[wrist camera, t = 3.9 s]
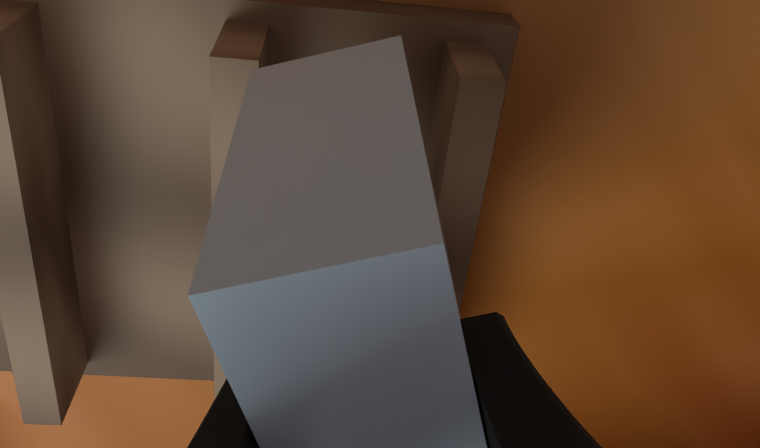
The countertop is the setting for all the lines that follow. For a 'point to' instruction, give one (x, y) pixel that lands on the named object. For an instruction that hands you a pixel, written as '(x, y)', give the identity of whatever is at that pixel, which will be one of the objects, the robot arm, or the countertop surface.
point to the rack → (183, 162)
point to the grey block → (335, 263)
